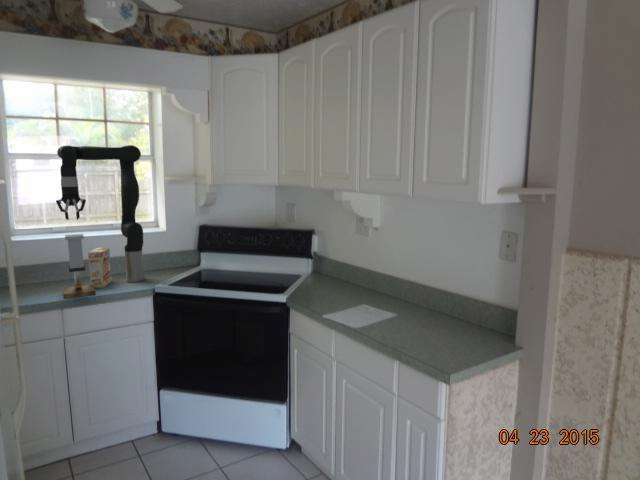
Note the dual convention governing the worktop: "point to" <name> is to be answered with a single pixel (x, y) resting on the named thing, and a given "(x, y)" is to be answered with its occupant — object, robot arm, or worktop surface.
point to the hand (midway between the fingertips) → (72, 219)
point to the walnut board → (78, 291)
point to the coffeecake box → (100, 267)
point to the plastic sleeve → (75, 250)
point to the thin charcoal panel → (76, 269)
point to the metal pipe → (77, 280)
